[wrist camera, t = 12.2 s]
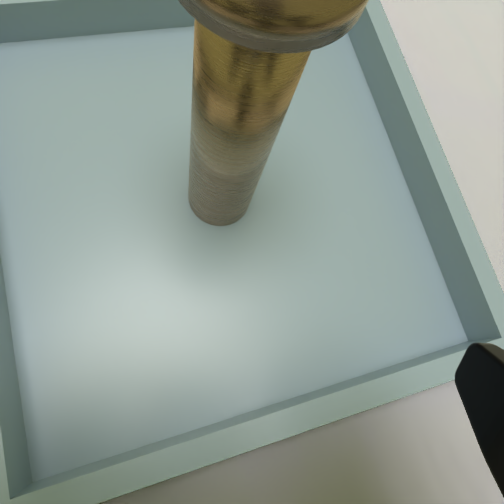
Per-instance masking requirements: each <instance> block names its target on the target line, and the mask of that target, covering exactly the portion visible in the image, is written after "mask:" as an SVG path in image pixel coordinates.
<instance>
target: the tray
mask: <svg viewBox="0 0 504 504" xmlns="http://www.w3.org/2000/svg"><path fill="white" fill-rule="evenodd" d="M194 21H195V18H193V17H192V16H191V15H190V14H189V13H188V12H187V11H186V10H185V8H184V7H183V6H182V5H181V4H180V3H179V1H178V0H0V504H99V503H101V502H104V501H107V500H110V499H113V498H116V497H119V496H122V495H124V494H127V493H130V492H133V491H136V490H139V489H142V488H145V487H147V486H150V485H153V484H156V483H159V482H162V481H165V480H168V479H170V478H173V477H176V476H179V475H182V474H185V473H188V472H191V471H193V470H196V469H199V468H202V467H205V466H208V465H211V464H214V463H216V462H219V461H222V460H225V459H228V458H231V457H234V456H237V455H240V454H242V453H245V452H248V451H251V450H254V449H257V448H260V447H263V446H265V445H268V444H271V443H274V442H277V441H280V440H283V439H286V438H288V437H291V436H294V435H297V434H300V433H303V432H306V431H309V430H311V429H314V428H317V427H320V426H323V425H326V424H329V423H332V422H334V421H337V420H340V419H343V418H346V417H349V416H352V415H355V414H357V413H360V412H363V411H366V410H369V409H372V408H375V407H378V406H381V405H383V404H386V403H389V402H392V401H395V400H398V399H401V398H404V397H406V396H409V395H412V394H415V393H418V392H421V391H424V390H427V389H429V388H432V387H435V386H438V385H441V384H444V383H447V382H450V381H452V380H455V372H456V369H457V367H458V365H459V363H460V361H461V359H462V358H463V356H464V354H465V352H466V350H467V348H468V346H469V345H471V344H472V343H476V342H477V343H491V344H494V345H497V346H498V347H500V348H502V349H504V293H503V291H502V288H501V286H500V284H499V281H498V279H497V277H496V274H495V272H494V269H493V267H492V265H491V262H490V260H489V258H488V255H487V253H486V251H485V248H484V246H483V243H482V241H481V239H480V236H479V234H478V232H477V229H476V227H475V225H474V222H473V220H472V217H471V215H470V213H469V210H468V208H467V206H466V203H465V201H464V198H463V196H462V194H461V191H460V189H459V187H458V184H457V182H456V180H455V177H454V175H453V172H452V170H451V168H450V165H449V163H448V161H447V158H446V156H445V154H444V151H443V149H442V146H441V144H440V142H439V139H438V137H437V135H436V132H435V130H434V128H433V125H432V123H431V120H430V118H429V116H428V113H427V111H426V109H425V106H424V104H423V101H422V99H421V97H420V94H419V92H418V90H417V87H416V85H415V83H414V80H413V78H412V75H411V73H410V71H409V68H408V66H407V64H406V61H405V59H404V57H403V54H402V52H401V49H400V47H399V45H398V42H397V40H396V38H395V35H394V33H393V30H392V28H391V26H390V23H389V21H388V19H387V16H386V14H385V12H384V9H383V7H382V4H381V2H380V0H369V1H368V3H367V5H366V7H365V9H364V11H363V13H362V14H361V16H360V18H359V20H358V21H357V23H356V24H355V25H354V26H353V28H352V29H351V30H350V31H349V32H348V33H346V34H345V35H344V36H343V37H342V38H340V39H338V40H337V41H335V42H333V43H332V44H329V45H327V46H324V47H322V48H319V49H315V50H312V51H311V53H310V56H309V58H308V61H307V63H306V66H305V68H304V70H303V73H302V75H301V78H300V80H299V83H298V85H297V88H296V90H295V93H294V95H293V98H292V100H291V103H290V105H289V108H288V110H287V113H286V115H285V118H284V120H283V122H282V125H281V127H280V130H279V132H278V135H277V137H276V140H275V142H274V145H273V147H272V150H271V152H270V155H269V157H268V160H267V162H266V165H265V167H264V170H263V172H262V174H261V177H260V179H259V182H258V184H257V187H256V189H255V192H254V194H253V197H252V199H251V202H250V204H249V207H248V209H247V211H246V213H245V214H244V216H243V217H242V218H241V219H240V220H238V221H237V222H235V223H233V224H230V225H226V226H215V225H210V224H208V223H205V222H204V221H202V220H201V219H199V218H198V217H197V216H196V215H195V214H194V212H193V211H192V209H191V207H190V204H189V200H188V186H189V159H190V131H191V104H192V76H193V49H194Z"/></svg>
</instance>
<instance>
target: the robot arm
mask: <svg viewBox="0 0 504 504" xmlns="http://www.w3.org/2000/svg"><path fill="white" fill-rule="evenodd" d="M455 384H456V387H457V389H458V392H459V395H460V397H461V400H462V402H463V405H464V407H465V410H466V413H467V415H468V418H469V420H470V423H471V426H472V428H473V431H474V433H475V436H476V439H477V441H478V444H479V446H480V449H481V451H482V453H483V456H484V458H485V460H486V462H487V464H488V467H489V469H490V471H491V473H492V475H493V477H494V479H495V481H496V483H497V485H498V487H499V489H500V491H501V493H502V495H503V497H504V349H502V348H500V347H498V346H497V345H494V344H491V343H477V342H476V343H472V344H471V345H469V346H468V348H467V350H466V352H465V354H464V356H463V358H462V359H461V361H460V363H459V365H458V367H457V369H456V372H455Z"/></svg>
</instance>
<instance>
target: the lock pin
mask: <svg viewBox="0 0 504 504" xmlns="http://www.w3.org/2000/svg"><path fill="white" fill-rule="evenodd" d="M178 1H179V3H180V4H181V5H182V6H183V7H184V8H185V10H186V11H187V12H188V13H189V14H190V15H191V16H192V17H193V18H195V21H194V49H193V76H192V104H191V131H190V159H189V186H188V200H189V204H190V207H191V209H192V211H193V212H194V214H195V215H196V216H197V217H198V218H199V219H201V220H202V221H204V222H205V223H208V224H210V225H215V226H226V225H230V224H233V223H235V222H237V221H238V220H240V219H241V218H242V217H243V216H244V214H245V213H246V211H247V209H248V207H249V204H250V202H251V199H252V197H253V194H254V192H255V189H256V187H257V184H258V182H259V179H260V177H261V174H262V172H263V170H264V167H265V165H266V162H267V160H268V157H269V155H270V152H271V150H272V147H273V145H274V142H275V140H276V137H277V135H278V132H279V130H280V127H281V125H282V122H283V120H284V118H285V115H286V113H287V110H288V108H289V105H290V103H291V100H292V98H293V95H294V93H295V90H296V88H297V85H298V83H299V80H300V78H301V75H302V73H303V70H304V68H305V66H306V63H307V61H308V58H309V56H310V53H311V51H312V50H315V49H319V48H322V47H324V46H327V45H329V44H332V43H333V42H335V41H337V40H338V39H340V38H342V37H343V36H344V35H345V34H346V33H348V32H349V31H350V30H351V29H352V28H353V26H354V25H355V24H356V23H357V21H358V20H359V18H360V16H361V14H362V13H363V11H364V9H365V7H366V5H367V3H368V1H369V0H178Z"/></svg>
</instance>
